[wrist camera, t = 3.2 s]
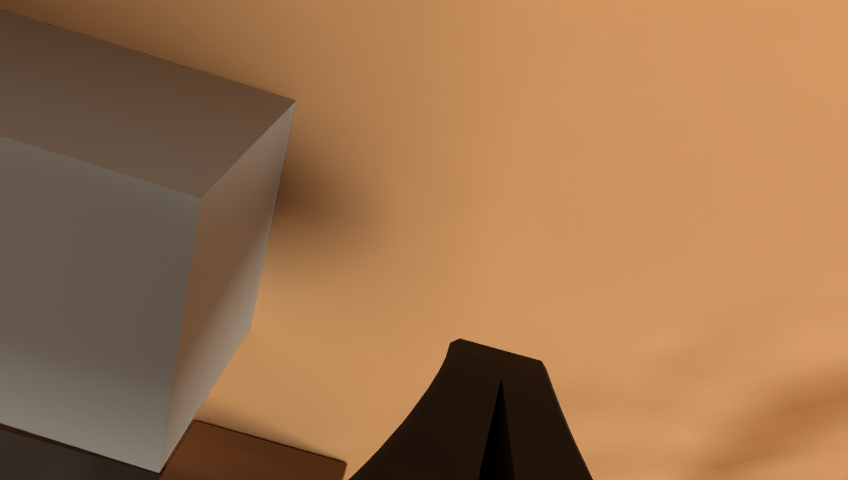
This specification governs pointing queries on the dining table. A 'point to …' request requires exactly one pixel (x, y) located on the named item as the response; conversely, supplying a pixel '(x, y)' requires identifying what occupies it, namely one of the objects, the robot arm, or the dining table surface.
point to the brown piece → (188, 469)
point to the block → (125, 236)
